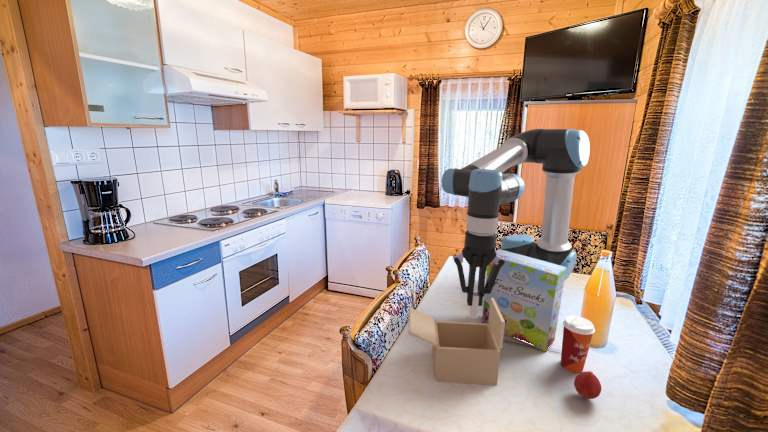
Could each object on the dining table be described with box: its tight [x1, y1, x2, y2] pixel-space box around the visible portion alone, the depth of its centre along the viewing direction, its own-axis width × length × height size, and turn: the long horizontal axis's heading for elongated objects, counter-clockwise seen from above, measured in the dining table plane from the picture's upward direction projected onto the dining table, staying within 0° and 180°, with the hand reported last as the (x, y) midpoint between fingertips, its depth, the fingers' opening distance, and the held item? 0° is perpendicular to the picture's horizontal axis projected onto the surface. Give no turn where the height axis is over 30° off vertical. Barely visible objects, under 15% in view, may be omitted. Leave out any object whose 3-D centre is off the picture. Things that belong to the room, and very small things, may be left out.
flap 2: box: [488, 298, 505, 350], centre depth 93 cm, size 8×12×1 cm
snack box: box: [481, 248, 567, 353], centre depth 110 cm, size 22×9×26 cm, turn 47°
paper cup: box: [560, 315, 596, 374], centre depth 96 cm, size 8×8×14 cm
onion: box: [573, 370, 602, 400], centre depth 86 cm, size 6×6×8 cm
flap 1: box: [408, 306, 437, 346], centre depth 95 cm, size 8×12×1 cm, turn 177°
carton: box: [431, 320, 501, 386], centre depth 96 cm, size 16×13×10 cm
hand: (473, 315), depth 93 cm, fingers closed
